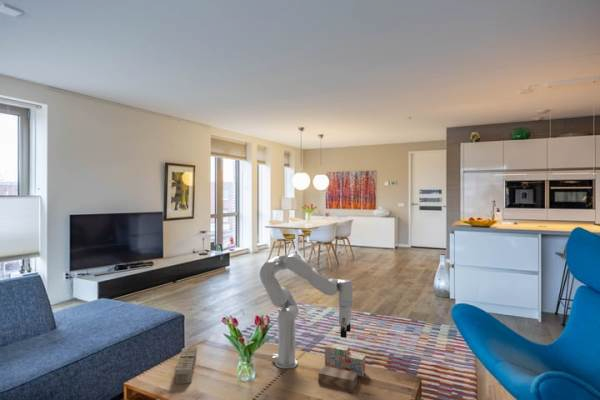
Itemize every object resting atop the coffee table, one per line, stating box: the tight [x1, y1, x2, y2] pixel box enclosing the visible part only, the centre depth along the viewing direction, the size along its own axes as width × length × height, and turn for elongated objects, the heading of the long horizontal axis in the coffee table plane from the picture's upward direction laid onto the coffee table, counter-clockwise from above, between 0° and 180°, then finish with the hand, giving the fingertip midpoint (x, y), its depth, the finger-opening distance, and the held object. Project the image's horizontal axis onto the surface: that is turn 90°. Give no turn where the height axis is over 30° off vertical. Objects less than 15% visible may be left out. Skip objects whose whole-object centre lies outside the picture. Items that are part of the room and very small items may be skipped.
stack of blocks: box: [324, 342, 366, 378], centre depth 197 cm, size 21×6×12 cm, turn 62°
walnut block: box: [317, 365, 359, 391], centre depth 184 cm, size 18×9×5 cm, turn 66°
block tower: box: [174, 345, 198, 385], centre depth 193 cm, size 8×8×29 cm
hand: (345, 334), depth 197 cm, fingers open, 9 cm apart
